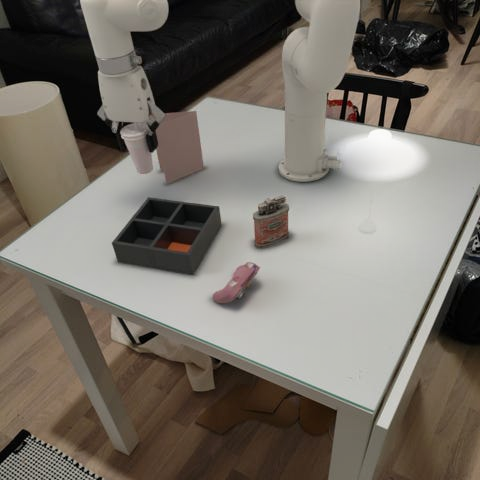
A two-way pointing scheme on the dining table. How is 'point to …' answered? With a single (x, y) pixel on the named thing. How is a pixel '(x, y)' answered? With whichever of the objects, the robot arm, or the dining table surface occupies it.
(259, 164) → the dining table surface
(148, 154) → the smoothie
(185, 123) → the greeting card
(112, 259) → the dining table surface
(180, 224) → the crate
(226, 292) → the video game controller
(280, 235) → the lighter
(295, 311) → the dining table surface
